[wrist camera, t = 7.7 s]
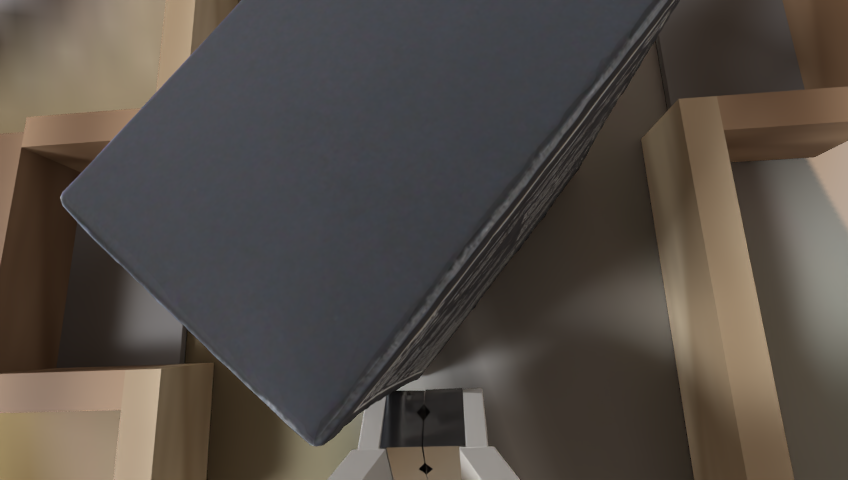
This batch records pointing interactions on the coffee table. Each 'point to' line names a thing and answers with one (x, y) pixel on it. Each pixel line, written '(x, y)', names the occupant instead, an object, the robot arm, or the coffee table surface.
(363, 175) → the small box
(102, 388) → the trap lane
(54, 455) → the coffee table surface
